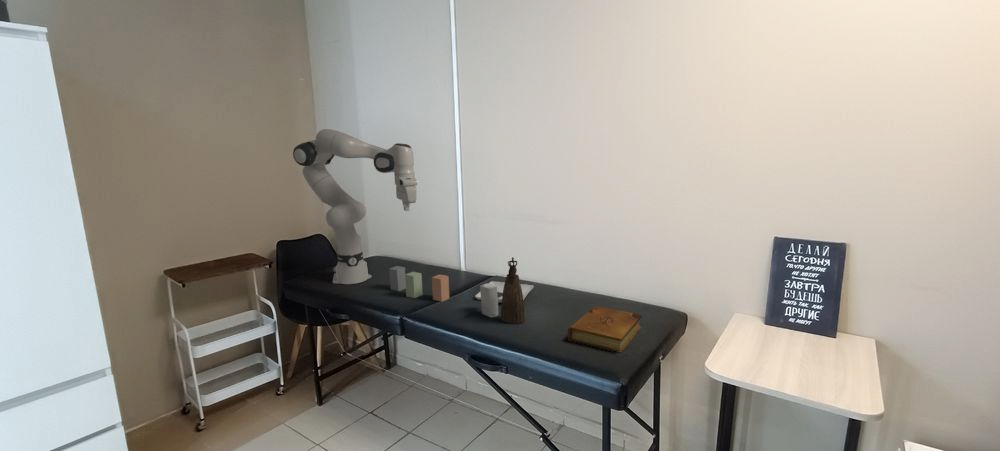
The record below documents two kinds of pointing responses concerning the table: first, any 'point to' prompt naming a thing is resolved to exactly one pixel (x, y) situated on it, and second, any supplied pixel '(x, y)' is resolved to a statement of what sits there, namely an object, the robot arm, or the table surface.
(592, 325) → the diary
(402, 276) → the slate block
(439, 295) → the terracotta block
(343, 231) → the robot arm
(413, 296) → the sage block
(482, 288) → the skincare box
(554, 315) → the table surface
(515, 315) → the statue
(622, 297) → the table surface
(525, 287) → the salad plate
